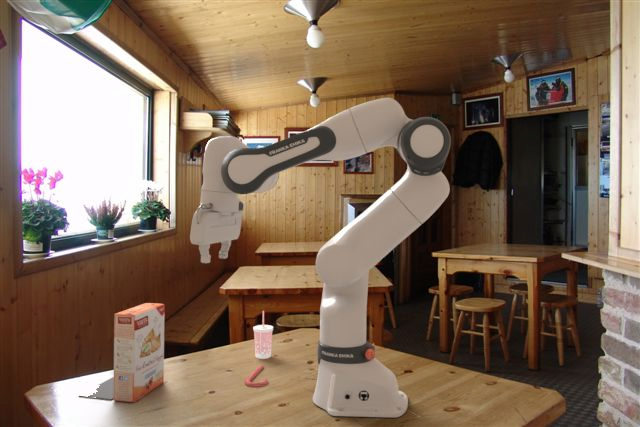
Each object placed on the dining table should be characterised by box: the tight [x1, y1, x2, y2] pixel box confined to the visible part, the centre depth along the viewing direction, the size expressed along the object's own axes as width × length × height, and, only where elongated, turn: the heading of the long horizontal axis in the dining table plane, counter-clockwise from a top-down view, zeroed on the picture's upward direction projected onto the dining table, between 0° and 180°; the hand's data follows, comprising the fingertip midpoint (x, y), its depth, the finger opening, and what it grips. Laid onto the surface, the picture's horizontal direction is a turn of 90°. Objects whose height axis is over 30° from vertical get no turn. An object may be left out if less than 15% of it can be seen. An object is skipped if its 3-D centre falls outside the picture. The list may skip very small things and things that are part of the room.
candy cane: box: [244, 364, 269, 388], centre depth 135 cm, size 6×15×2 cm, turn 169°
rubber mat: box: [88, 376, 114, 401], centre depth 126 cm, size 9×13×1 cm
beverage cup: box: [252, 310, 274, 360], centre depth 153 cm, size 6×6×14 cm
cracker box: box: [113, 302, 166, 403], centre depth 124 cm, size 14×6×21 cm, turn 168°
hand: (214, 260), depth 122 cm, fingers open, 8 cm apart
